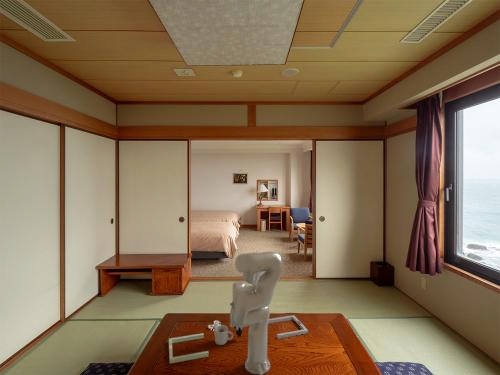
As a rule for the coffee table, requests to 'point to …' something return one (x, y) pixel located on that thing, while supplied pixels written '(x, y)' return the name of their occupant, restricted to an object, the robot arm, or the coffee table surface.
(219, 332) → the cup
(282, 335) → the grey u-frame
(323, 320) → the coffee table surface
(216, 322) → the white curved piece
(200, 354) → the mint green u-frame
